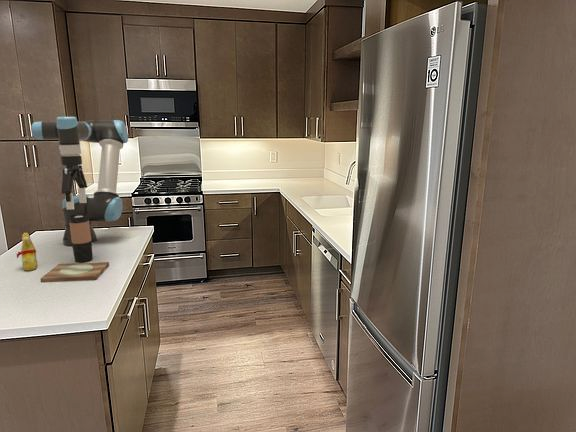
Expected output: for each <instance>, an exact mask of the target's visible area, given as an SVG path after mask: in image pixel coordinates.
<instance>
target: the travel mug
mask: <svg viewBox="0 0 576 432" xmlns="http://www.w3.org/2000/svg"><path fill="white" fill-rule="evenodd" d="M69 223H70V232H71V240H72V246H71V247H72V251H73V252H72V253H73V258H74V262H75V263H90V262H91V261H93V260H94V253H93V243H92V241H91V233H90V225H89V217H88V214H80V215H70V216H69Z"/></svg>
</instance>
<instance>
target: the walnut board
mask: <svg viewBox="0 0 576 432" xmlns="http://www.w3.org/2000/svg"><path fill="white" fill-rule="evenodd" d="M109 266H110V262H109V261H104V262H103V261H100V262H99V261H98V262H85V263H76V262H75V263H70V262H69V263H58V264H57V265H55V266H54V267H53V268H52V269H51V270H49V271H47V273H45V274H44V275H43V276H42V277H40V283H53V282H54V283H55V282H56V283H57V282H58V283H59V282H76V281H80V282H82V281H96V280H98V279H99V277H101V275H102V274H103V273H104V272H105V271H106V270H107V268H108V267H109Z"/></svg>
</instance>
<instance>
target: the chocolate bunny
mask: <svg viewBox="0 0 576 432" xmlns="http://www.w3.org/2000/svg"><path fill="white" fill-rule="evenodd" d="M21 236H22V237H21V241H22V245H21V251H17V253H16V258H19V257H20V256H21V261H22V266H23V267H22V268H23V270H24V271H26V272H27V271H28V272H31V271H34V270H36V267H37V264H38V261H37V260H38V259H37V249H36V248H35V247H36V246H35V245H34V242H33V241H32V240H31V236H30V235H29V233H28V232H24V233H22V235H21Z"/></svg>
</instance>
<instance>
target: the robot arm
mask: <svg viewBox="0 0 576 432" xmlns="http://www.w3.org/2000/svg"><path fill="white" fill-rule="evenodd" d="M30 128H31V129H30V130H31V135H32V136H33V138H34V139H36V140H42V141H44V140H45V141H47V140H48V141H49V140H51V141H52V140H58V145H59V146H58V149H59V153H60V155H61V156H60V163H61V165H62V166H65V167H66V168H62V178H61V179H62V181H61V194H63V195H64V198H63V200H62V208H61V209H62V211H63V220H64V225H65V227H64V229H65V230H64V233H63V238H62V242H63V243H62V244H63V245H64V246H68V247H72V240H71V232H70V223H69V216H70V215H80V214H88V217H89V225H90V233H91V241H92V244H93V243H95V242H96V241H98V237H97V236H98V235H97V234H96V232H95V230H94V228H93V225H92V222H113V221H118V219H120V218H121V216H122V213H123V207H124V206H123V200H122V198H121V197H120V195H119V193H117V187H118V185H117V184H118V173H119V163H120V152H121V150H122V149H123V148H124V144H127V143H128V141H129V133H128V128H127V126H126V124H125V122H124V121H122V120H119V119H118V120H117V119H113V120H109V119H106V120H105V119H103V120H102V119H101V120H100V119H98V120H97V119H92V120H91V119H90V120H84V121H78V119H77V117H76V116H57V117H56V121H34V122H33V123H32V124H31V127H30ZM81 142H87V143H92V144H93V143H94V144H95V143H96V144H98V145H99V146H100V147H101V152H100V163H99V171H98V181H97V190H96V191H95V192H93V197H89V195H88V194H86V188H88V184H87V180H86V178H85V177H86V176H85V174H84V171H83V166H82V164H83V160H82V158H83V157H82V155H81V154H82V150H81V149H82V148H81ZM74 182H75V183H76V184H77V187H78V188H77V191H78V193H77V194H78V195H74V194H73V193H72V191H73V185H74Z"/></svg>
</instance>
